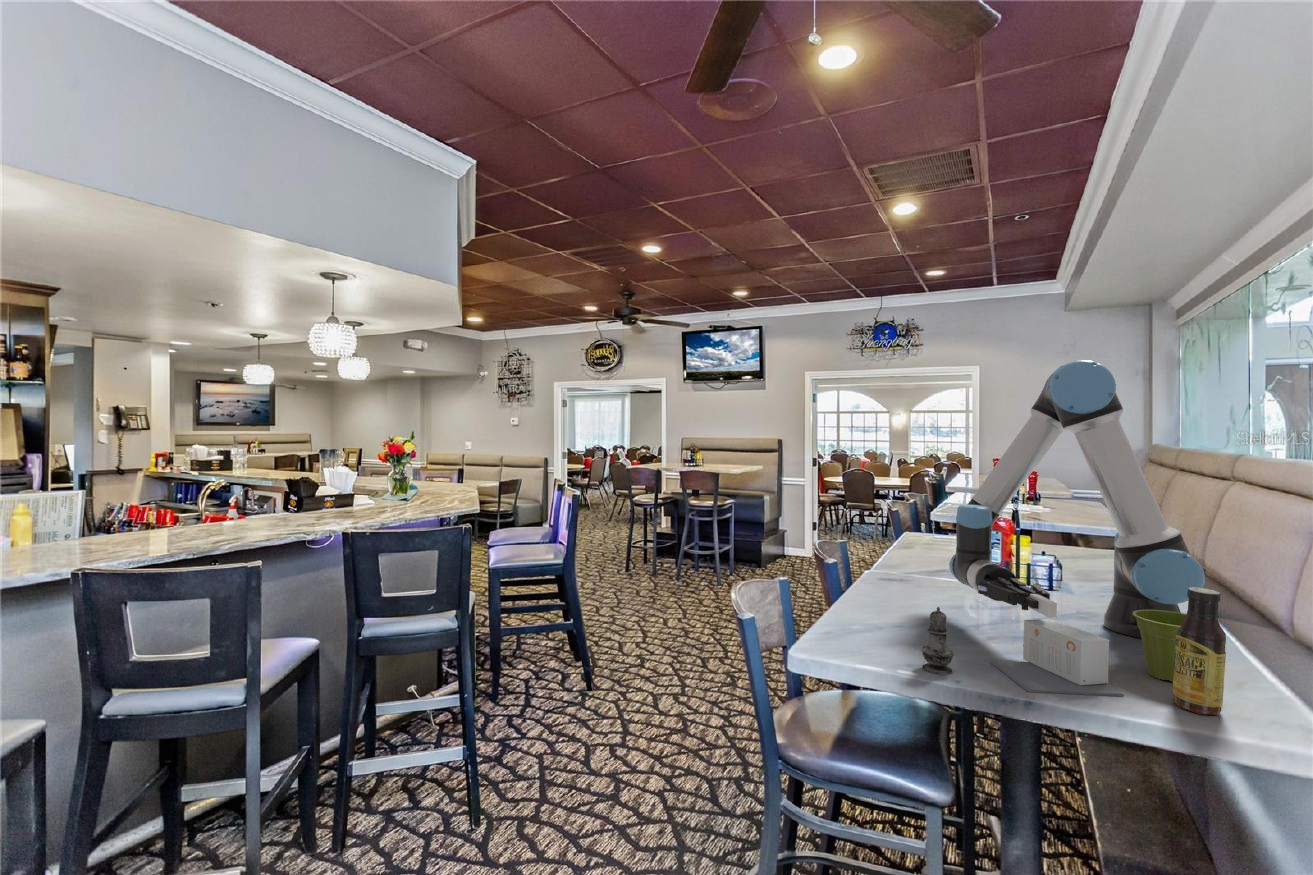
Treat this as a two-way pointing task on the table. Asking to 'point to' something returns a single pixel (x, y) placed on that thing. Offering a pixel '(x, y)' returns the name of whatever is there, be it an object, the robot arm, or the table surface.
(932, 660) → the salt shaker
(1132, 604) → the robot arm
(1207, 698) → the sauce bottle
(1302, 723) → the table surface
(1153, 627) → the plant pot
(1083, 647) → the small box
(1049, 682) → the rubber mat
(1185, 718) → the table surface
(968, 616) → the table surface
